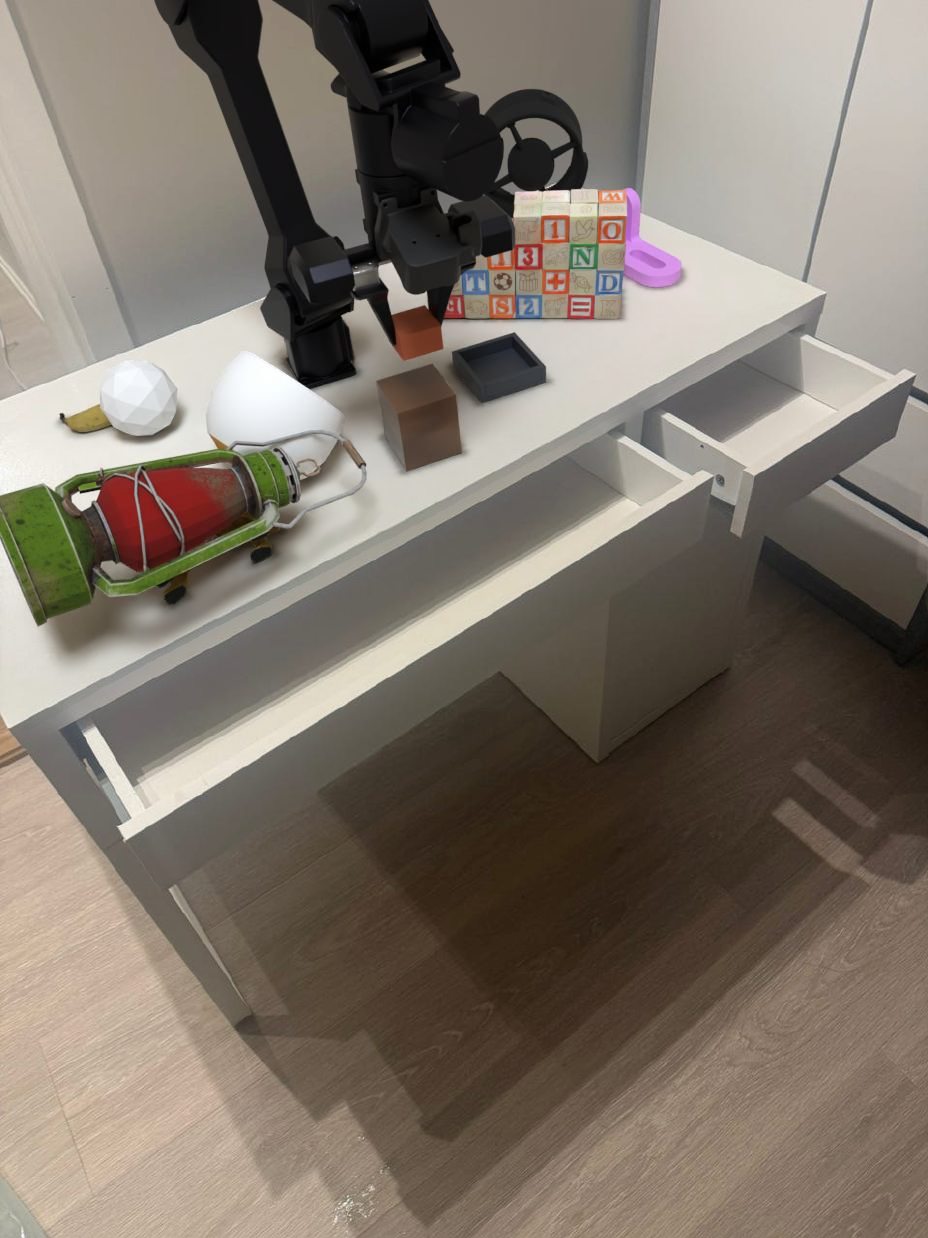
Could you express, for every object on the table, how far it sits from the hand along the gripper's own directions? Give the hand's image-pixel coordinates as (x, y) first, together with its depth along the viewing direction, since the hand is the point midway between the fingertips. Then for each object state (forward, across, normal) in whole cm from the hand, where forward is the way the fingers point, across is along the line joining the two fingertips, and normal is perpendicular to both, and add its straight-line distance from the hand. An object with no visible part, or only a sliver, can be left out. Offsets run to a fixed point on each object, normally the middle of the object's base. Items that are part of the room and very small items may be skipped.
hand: (414, 336), depth 85 cm
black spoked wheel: (+5, +29, +34) cm, 45 cm away
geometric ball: (+12, -26, +16) cm, 33 cm away
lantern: (+1, -38, -12) cm, 40 cm away
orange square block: (+1, 0, 0) cm, 1 cm away
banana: (+11, -30, +18) cm, 36 cm away
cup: (+9, -19, +1) cm, 21 cm away
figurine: (+10, -25, -10) cm, 29 cm away
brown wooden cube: (+12, -1, 0) cm, 12 cm away
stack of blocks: (+12, +20, +18) cm, 30 cm away
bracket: (+12, +36, +20) cm, 43 cm away
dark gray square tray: (+12, +11, +7) cm, 18 cm away
